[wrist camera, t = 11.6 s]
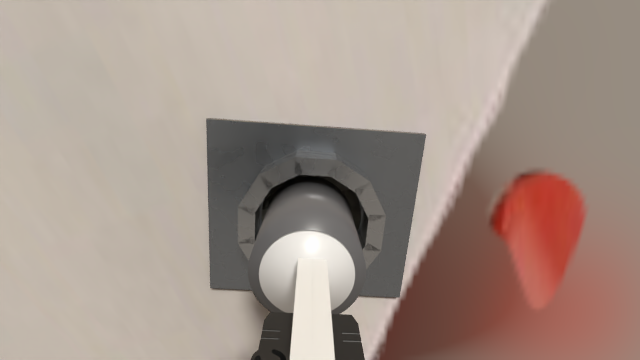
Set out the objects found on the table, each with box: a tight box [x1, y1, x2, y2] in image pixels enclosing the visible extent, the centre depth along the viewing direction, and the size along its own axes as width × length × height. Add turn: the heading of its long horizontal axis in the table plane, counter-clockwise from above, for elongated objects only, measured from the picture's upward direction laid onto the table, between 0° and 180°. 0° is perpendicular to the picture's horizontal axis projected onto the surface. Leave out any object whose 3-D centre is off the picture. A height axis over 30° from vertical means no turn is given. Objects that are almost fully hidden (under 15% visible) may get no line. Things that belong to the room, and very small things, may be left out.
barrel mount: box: [206, 118, 426, 297], centre depth 25 cm, size 16×14×3 cm
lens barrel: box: [248, 176, 366, 314], centre depth 22 cm, size 6×6×8 cm
